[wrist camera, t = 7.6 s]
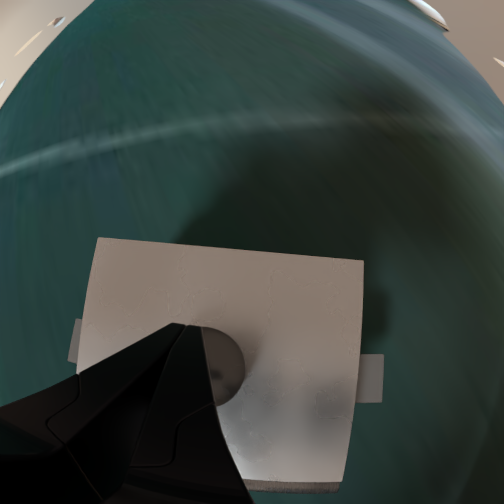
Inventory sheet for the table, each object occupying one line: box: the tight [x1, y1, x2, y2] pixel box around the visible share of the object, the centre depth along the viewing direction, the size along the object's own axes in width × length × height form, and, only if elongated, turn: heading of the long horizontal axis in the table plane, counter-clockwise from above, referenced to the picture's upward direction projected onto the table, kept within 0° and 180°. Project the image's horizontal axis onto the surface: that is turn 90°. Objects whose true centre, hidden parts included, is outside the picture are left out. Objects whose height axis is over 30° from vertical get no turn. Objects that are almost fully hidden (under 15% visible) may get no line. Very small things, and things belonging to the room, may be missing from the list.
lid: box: [76, 237, 364, 494], centre depth 11 cm, size 10×12×2 cm
